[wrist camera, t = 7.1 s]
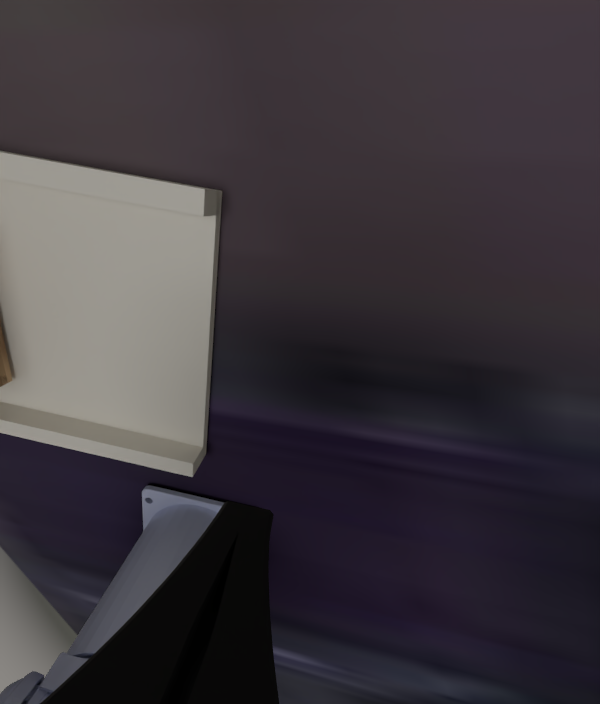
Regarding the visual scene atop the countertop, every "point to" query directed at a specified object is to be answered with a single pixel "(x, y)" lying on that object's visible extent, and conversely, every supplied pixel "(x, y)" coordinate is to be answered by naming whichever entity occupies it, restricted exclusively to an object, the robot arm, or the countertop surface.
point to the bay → (107, 310)
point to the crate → (4, 363)
